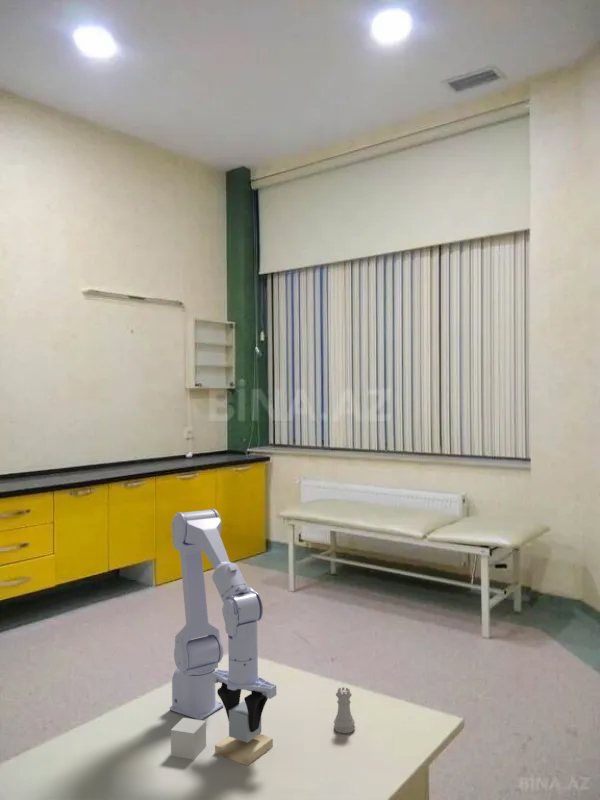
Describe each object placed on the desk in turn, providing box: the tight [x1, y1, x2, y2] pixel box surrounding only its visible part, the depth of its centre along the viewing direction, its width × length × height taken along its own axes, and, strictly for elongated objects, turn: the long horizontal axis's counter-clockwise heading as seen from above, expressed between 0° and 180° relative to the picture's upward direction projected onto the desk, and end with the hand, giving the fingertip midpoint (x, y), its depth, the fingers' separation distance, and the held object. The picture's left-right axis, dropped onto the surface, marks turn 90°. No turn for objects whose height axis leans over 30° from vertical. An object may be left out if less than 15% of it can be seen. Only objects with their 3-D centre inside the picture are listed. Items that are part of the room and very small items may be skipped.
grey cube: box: [170, 717, 207, 761], centre depth 118 cm, size 5×5×5 cm
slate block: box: [228, 700, 262, 743], centre depth 119 cm, size 4×4×5 cm
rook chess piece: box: [333, 686, 356, 735], centre depth 125 cm, size 4×4×8 cm
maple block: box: [214, 733, 274, 766], centre depth 118 cm, size 8×8×2 cm
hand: (243, 726), depth 118 cm, fingers closed on slate block, 4 cm apart
